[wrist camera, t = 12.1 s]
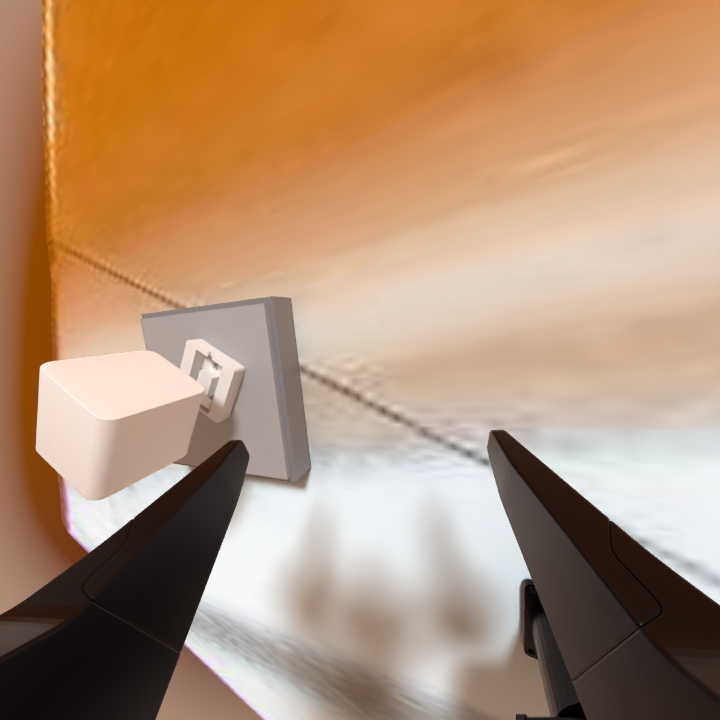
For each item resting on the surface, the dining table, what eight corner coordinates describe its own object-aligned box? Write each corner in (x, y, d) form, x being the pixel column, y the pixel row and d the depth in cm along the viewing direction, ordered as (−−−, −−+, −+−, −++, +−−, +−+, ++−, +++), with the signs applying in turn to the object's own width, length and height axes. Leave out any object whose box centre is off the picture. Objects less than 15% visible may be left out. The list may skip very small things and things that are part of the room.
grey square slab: (311, 467, 26) (293, 485, 23) (192, 452, 32) (166, 465, 29) (290, 297, 24) (267, 296, 21) (166, 314, 29) (136, 314, 27)
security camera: (180, 398, 26) (29, 446, 17) (196, 335, 24) (34, 349, 15) (228, 434, 25) (91, 506, 16) (249, 370, 23) (105, 410, 14)
